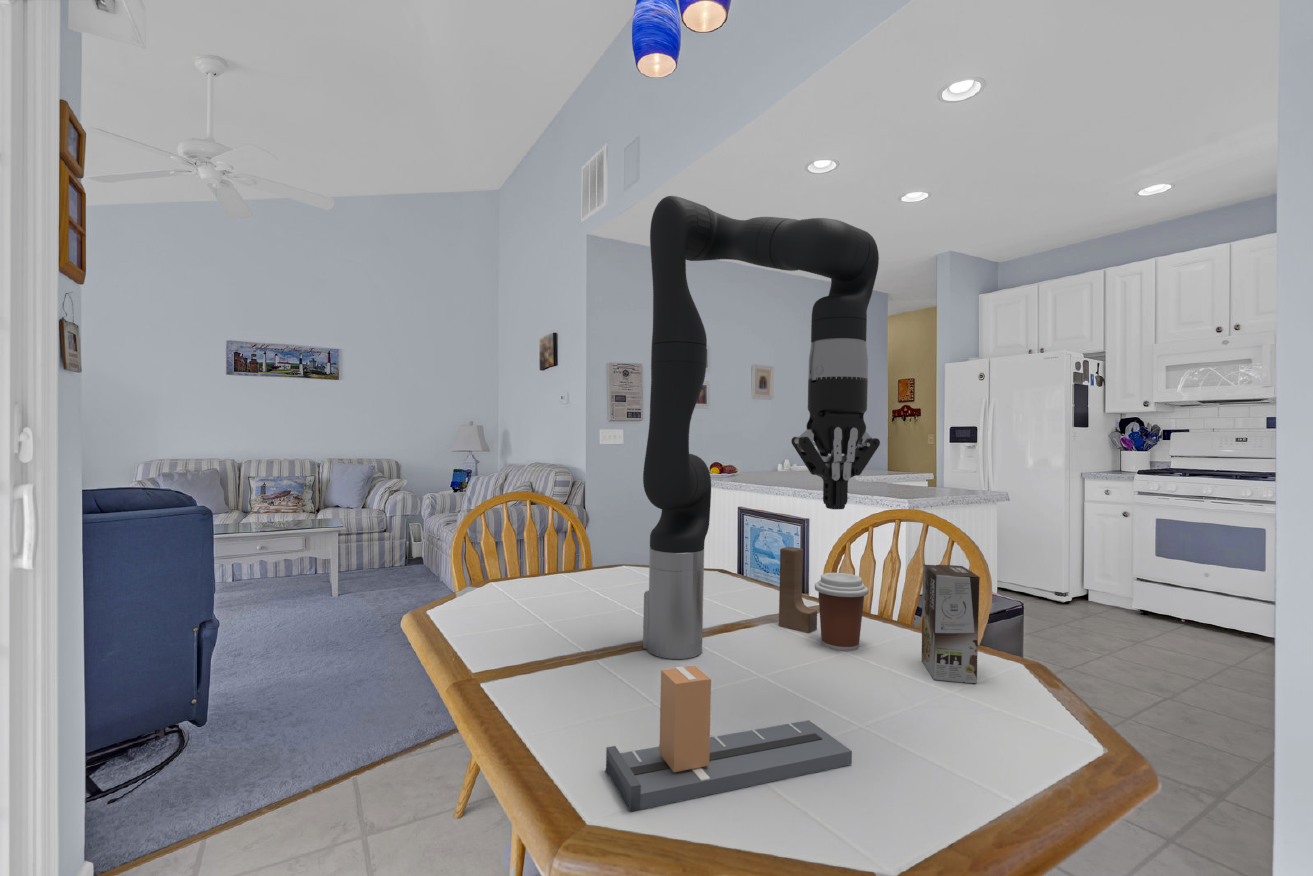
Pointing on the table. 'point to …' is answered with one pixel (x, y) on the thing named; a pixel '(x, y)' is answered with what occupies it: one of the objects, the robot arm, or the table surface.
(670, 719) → the fader tab
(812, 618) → the wooden block
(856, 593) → the coffee cup
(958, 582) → the coffee box
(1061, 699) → the table surface
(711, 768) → the fader rail
